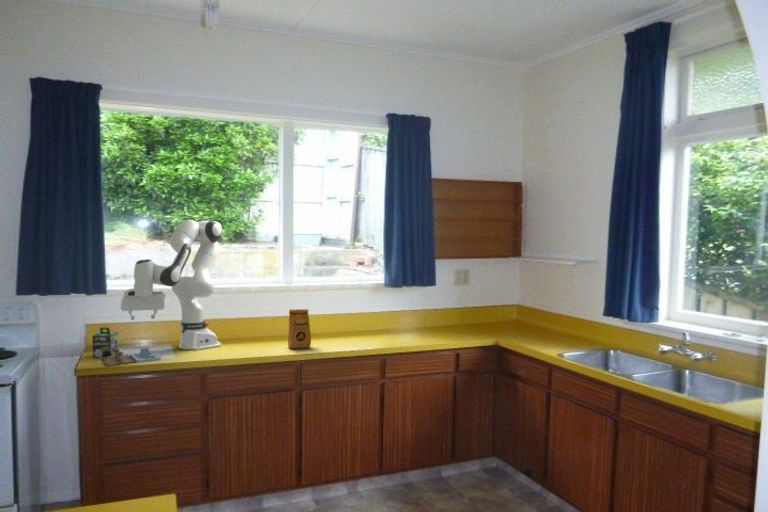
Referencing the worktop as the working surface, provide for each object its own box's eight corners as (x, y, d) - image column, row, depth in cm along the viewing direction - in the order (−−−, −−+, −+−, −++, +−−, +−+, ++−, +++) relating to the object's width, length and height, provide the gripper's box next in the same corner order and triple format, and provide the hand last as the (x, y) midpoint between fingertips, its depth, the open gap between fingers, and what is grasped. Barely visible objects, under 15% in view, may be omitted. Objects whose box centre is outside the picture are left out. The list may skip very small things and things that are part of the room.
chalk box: (118, 353, 284) (118, 325, 283) (111, 357, 275) (110, 328, 274) (100, 353, 283) (100, 325, 282) (92, 357, 274) (91, 328, 273)
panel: (152, 354, 284) (152, 344, 284) (160, 359, 272) (160, 349, 272) (129, 356, 278) (129, 346, 277) (136, 362, 266) (136, 352, 265)
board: (127, 356, 278) (127, 346, 277) (135, 363, 265) (135, 352, 265) (101, 359, 270) (101, 348, 270) (107, 366, 258) (107, 355, 257)
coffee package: (311, 349, 303) (312, 310, 302) (288, 350, 300) (289, 310, 298) (309, 345, 312) (309, 307, 311) (287, 346, 309) (287, 307, 308)
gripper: (163, 290, 282) (163, 317, 283) (120, 291, 271) (119, 319, 272) (166, 291, 277) (165, 318, 277) (122, 292, 266) (121, 321, 266)
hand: (142, 319), depth 274 cm, fingers open, 8 cm apart
